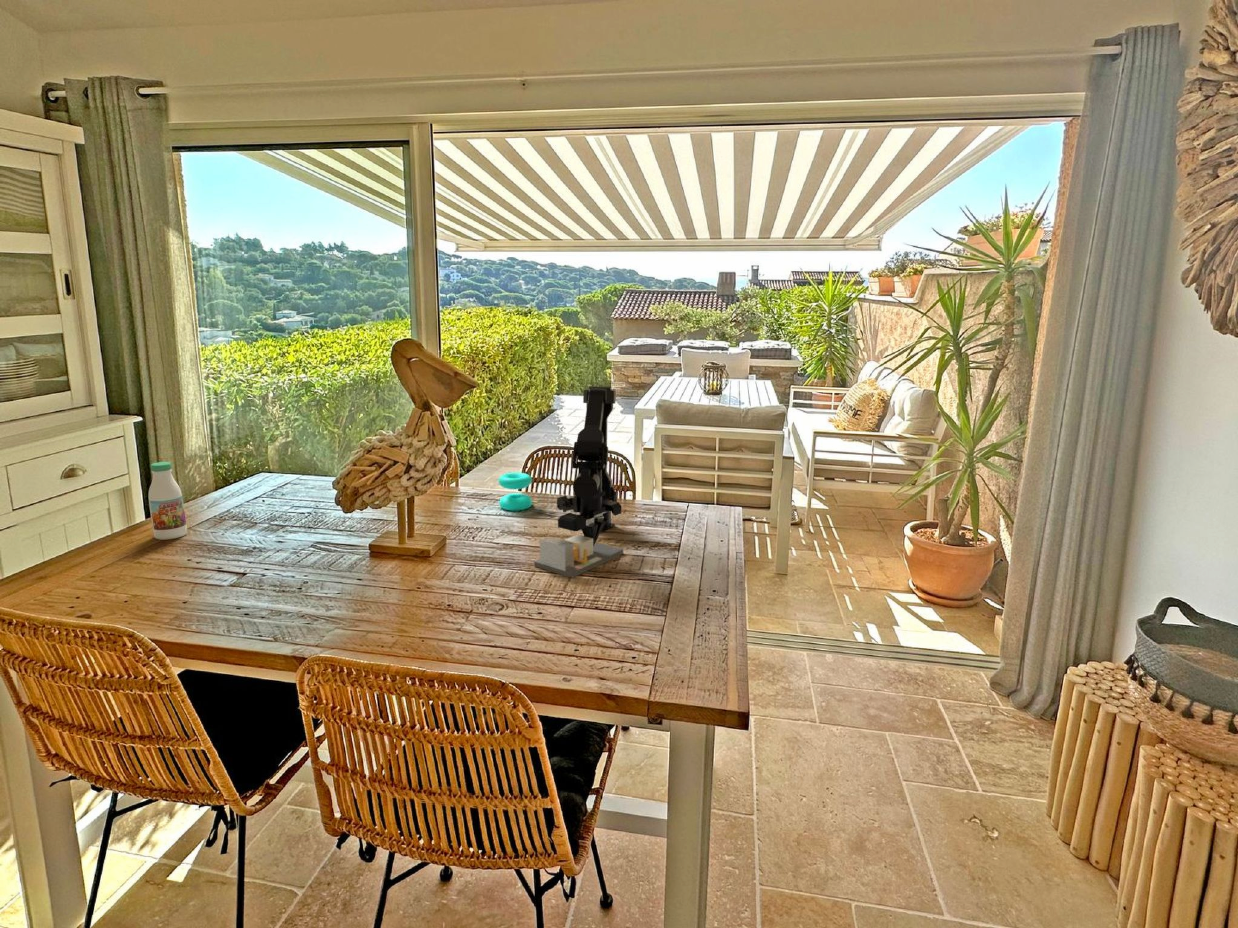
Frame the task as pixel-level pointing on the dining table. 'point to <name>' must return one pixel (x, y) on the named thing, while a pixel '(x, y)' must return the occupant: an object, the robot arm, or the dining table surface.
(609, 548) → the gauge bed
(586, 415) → the robot arm
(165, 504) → the milk bottle
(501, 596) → the dining table surface
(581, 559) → the needle rider
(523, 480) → the donuts
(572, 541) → the block
